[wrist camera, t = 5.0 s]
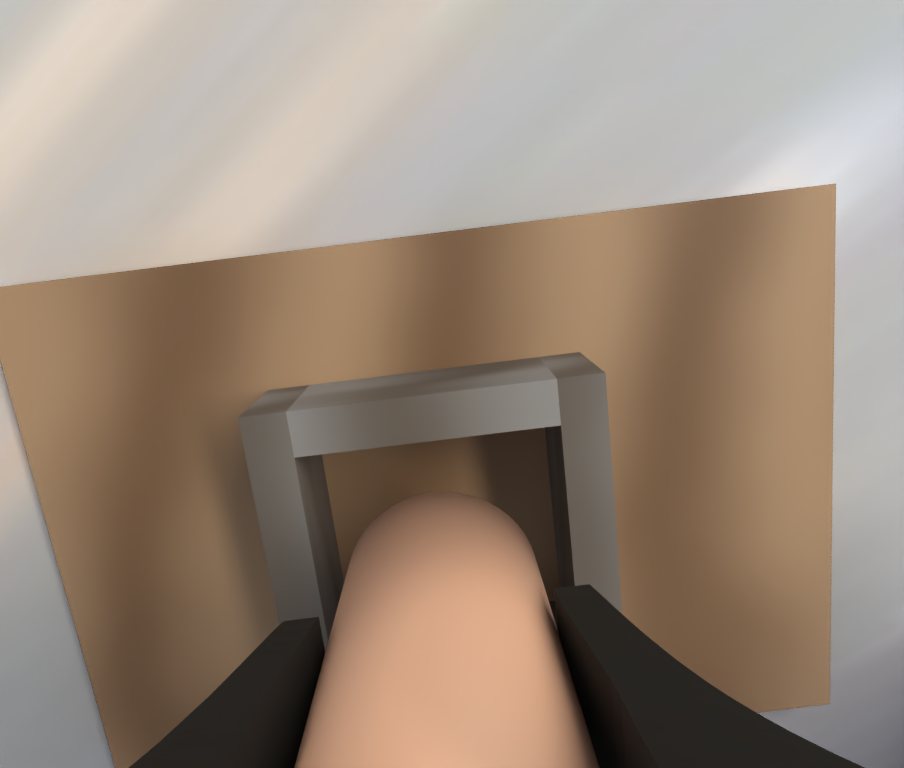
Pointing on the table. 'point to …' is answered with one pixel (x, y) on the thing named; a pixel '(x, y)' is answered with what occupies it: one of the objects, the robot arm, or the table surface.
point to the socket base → (444, 435)
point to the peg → (444, 650)
